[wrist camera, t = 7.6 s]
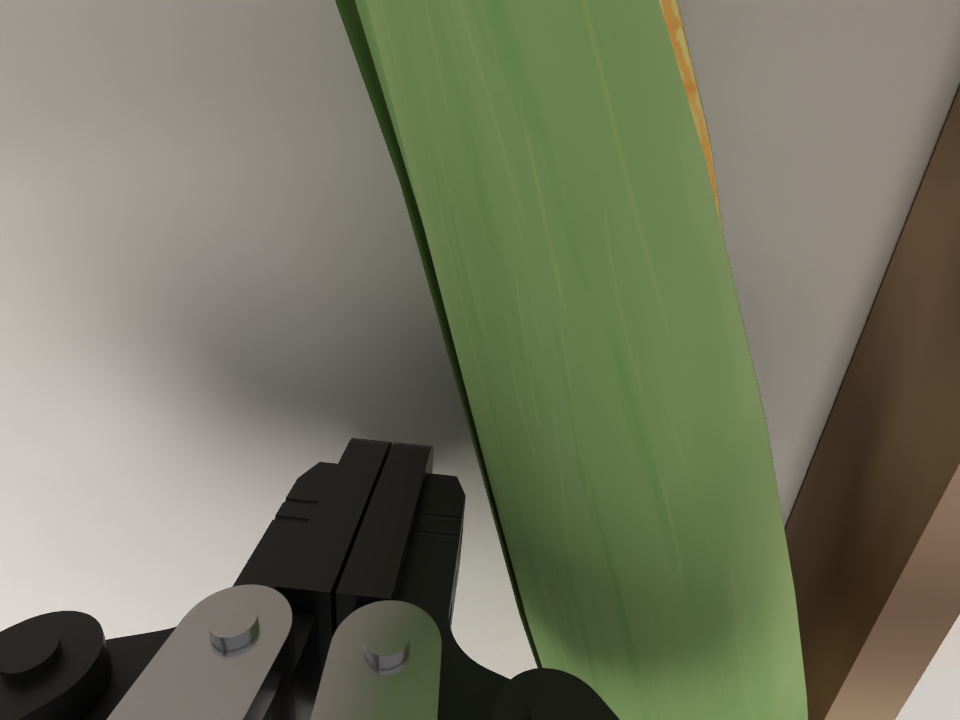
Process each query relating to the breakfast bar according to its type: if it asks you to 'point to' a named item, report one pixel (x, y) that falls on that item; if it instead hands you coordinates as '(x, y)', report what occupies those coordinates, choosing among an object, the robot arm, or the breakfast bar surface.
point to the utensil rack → (889, 478)
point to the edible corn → (595, 340)
